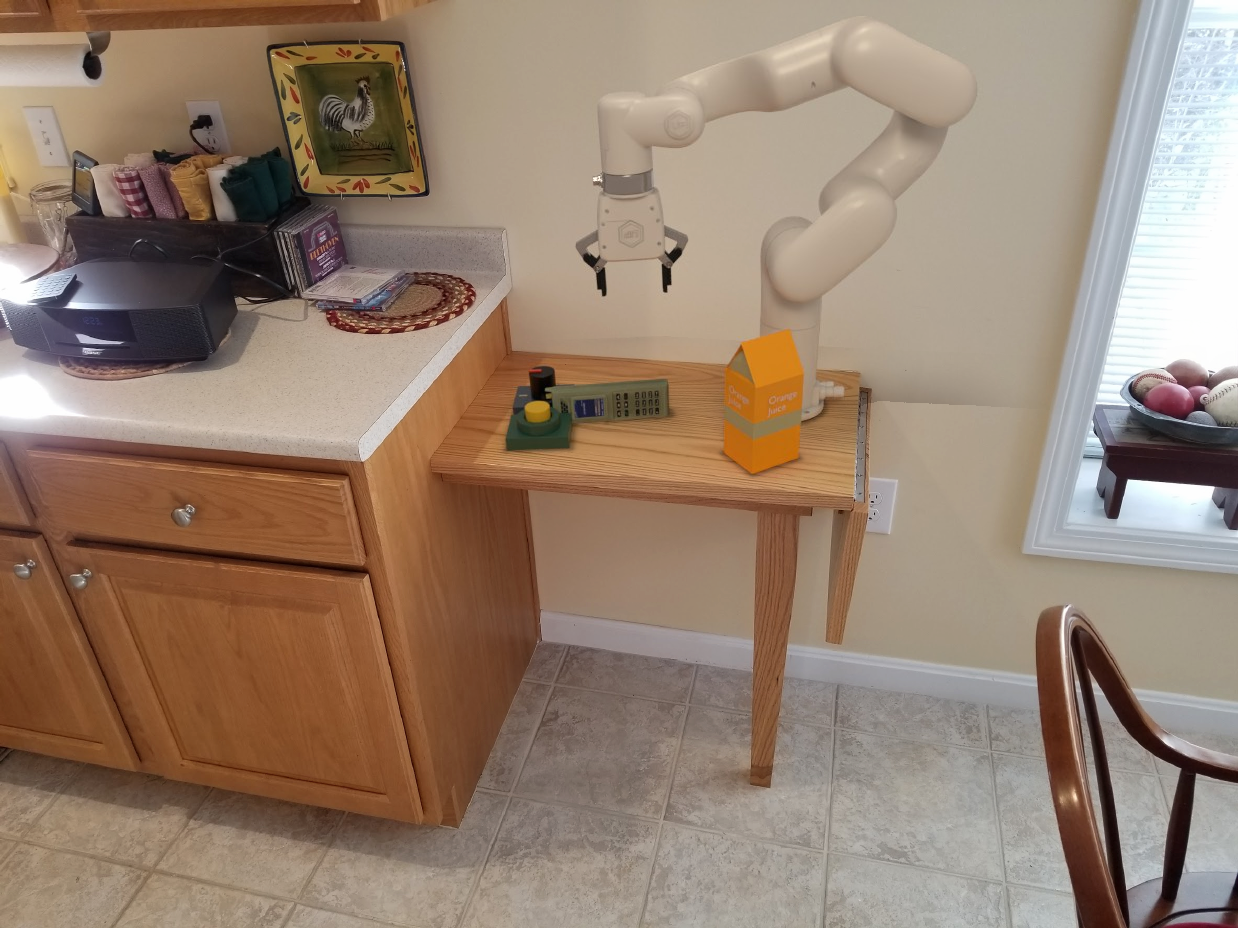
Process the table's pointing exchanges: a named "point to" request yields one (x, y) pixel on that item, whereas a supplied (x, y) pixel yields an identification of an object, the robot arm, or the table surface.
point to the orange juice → (763, 402)
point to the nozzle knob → (541, 381)
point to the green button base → (539, 432)
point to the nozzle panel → (525, 398)
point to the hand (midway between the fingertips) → (634, 291)
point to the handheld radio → (612, 400)
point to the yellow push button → (537, 411)
